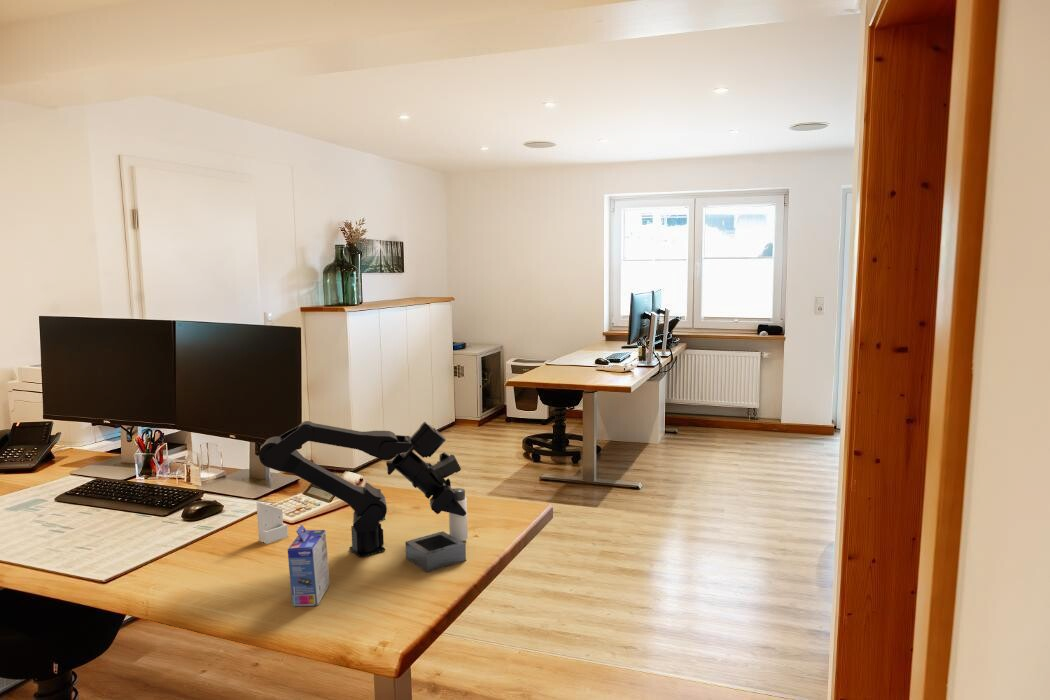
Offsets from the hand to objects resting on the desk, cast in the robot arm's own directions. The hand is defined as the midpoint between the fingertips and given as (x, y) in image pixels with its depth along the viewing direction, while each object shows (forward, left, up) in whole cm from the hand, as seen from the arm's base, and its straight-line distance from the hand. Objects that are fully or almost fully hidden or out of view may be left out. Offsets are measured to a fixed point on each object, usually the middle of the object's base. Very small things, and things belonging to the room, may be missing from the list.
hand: (463, 511), depth 169 cm
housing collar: (-11, -5, -7) cm, 14 cm away
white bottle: (-1, +1, -7) cm, 7 cm away
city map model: (-8, +30, -8) cm, 32 cm away
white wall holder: (-36, +32, -8) cm, 49 cm away
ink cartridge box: (-40, -4, -8) cm, 41 cm away
